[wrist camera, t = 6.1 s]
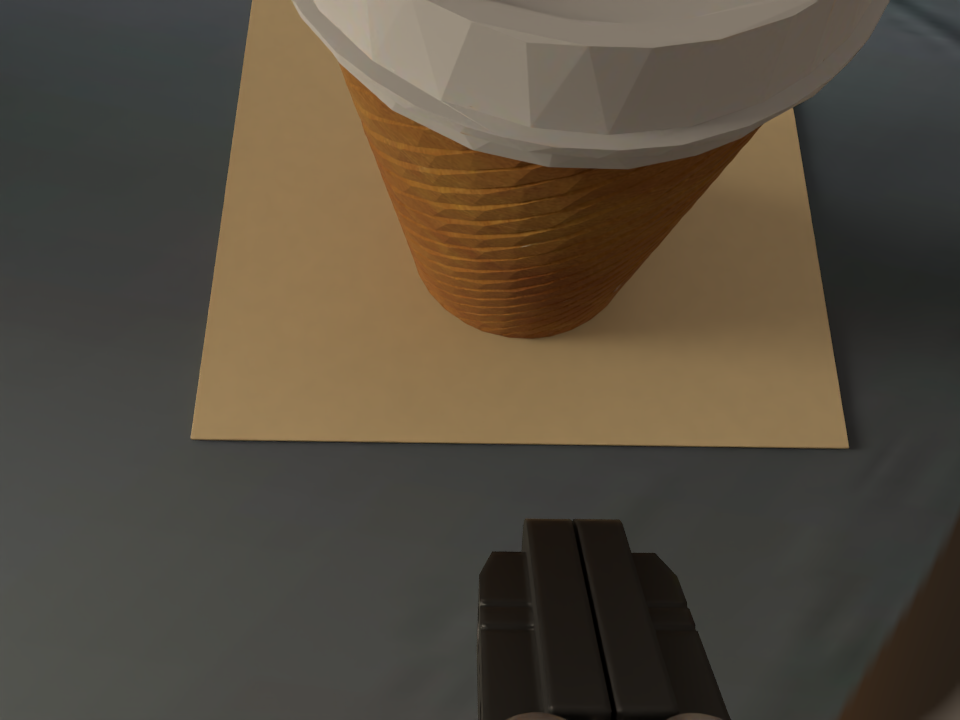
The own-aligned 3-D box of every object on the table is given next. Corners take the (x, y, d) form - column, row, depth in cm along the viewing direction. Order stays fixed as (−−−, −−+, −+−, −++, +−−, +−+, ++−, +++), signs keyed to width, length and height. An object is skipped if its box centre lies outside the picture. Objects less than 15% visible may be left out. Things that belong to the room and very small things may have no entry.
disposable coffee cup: (741, 191, 22) (1045, -271, 11) (589, 464, 19) (786, 224, 8) (465, 52, 23) (476, -487, 12) (284, 285, 20) (77, -138, 9)
